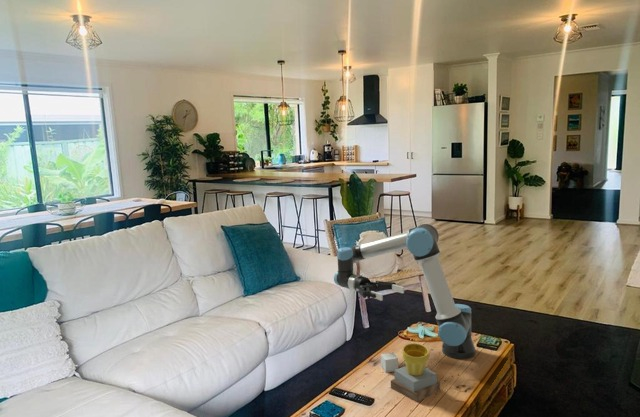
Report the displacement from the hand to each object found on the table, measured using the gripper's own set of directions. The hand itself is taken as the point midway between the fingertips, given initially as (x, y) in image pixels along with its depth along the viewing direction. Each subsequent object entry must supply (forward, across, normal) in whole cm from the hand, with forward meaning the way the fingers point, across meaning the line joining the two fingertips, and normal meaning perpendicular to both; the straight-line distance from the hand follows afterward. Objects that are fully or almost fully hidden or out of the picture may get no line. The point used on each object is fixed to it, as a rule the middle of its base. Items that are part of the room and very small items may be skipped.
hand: (393, 293), depth 200 cm
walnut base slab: (+17, +6, -36) cm, 40 cm away
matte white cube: (-2, +1, -35) cm, 35 cm away
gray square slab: (+17, +6, -32) cm, 36 cm away
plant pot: (+17, +6, -28) cm, 33 cm away
